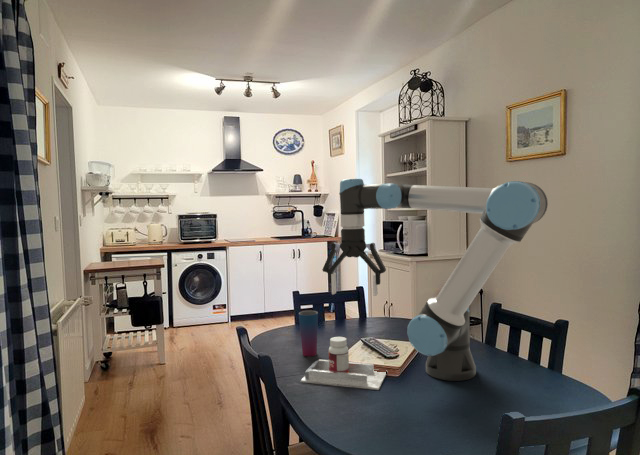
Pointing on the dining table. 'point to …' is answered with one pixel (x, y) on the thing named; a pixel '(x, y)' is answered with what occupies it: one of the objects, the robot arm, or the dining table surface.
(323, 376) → the white shallow tray
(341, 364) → the pill bottle
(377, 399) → the dining table surface
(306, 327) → the cup
